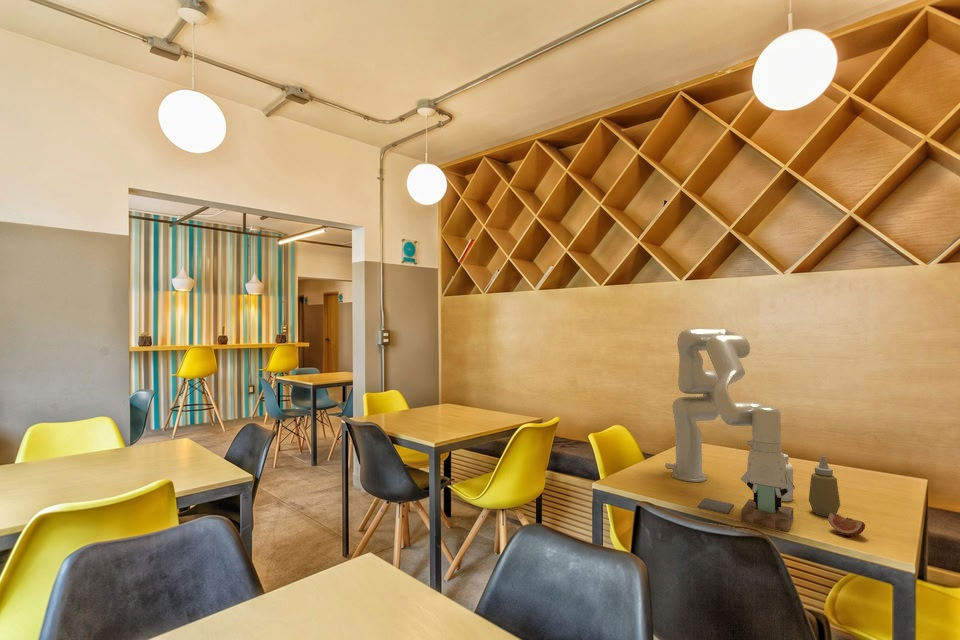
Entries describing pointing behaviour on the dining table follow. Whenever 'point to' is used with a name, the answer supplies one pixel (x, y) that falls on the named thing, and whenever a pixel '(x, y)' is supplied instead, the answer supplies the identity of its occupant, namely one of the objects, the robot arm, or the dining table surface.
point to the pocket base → (767, 516)
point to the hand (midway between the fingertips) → (767, 506)
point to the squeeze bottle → (824, 490)
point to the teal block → (766, 498)
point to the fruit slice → (846, 525)
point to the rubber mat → (715, 505)
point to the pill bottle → (789, 469)
